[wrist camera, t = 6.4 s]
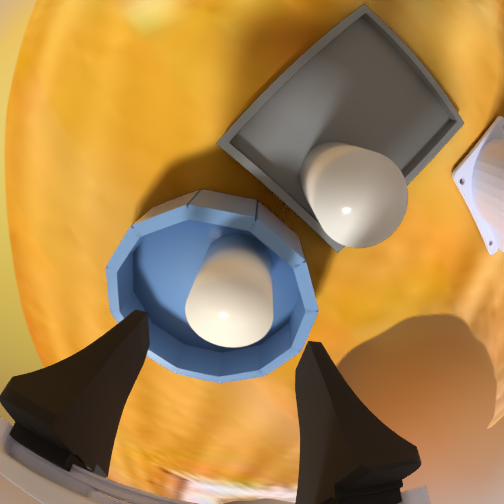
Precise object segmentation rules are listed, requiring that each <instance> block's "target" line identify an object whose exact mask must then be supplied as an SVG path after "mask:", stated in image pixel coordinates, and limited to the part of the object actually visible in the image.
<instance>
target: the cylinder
mask: <svg viewBox="0 0 504 504" xmlns="http://www.w3.org/2000/svg"><path fill="white" fill-rule="evenodd" d="M299 181H300V186H301V189H302V191H303V193H304V195H305V197H306V199H307V201H308V203H309V204H310V206H311V208H312V210H313V212H314V214H315V215H316V217H317V219H318V221H319V223H320V225H321V227H322V228H323V230H324V231H325V232H326V233H327V235H328V236H329V237H331V238H332V239H333V240H334V241H336V242H338V243H340V244H342V245H344V246H347V247H352V248H366V247H371V246H374V245H376V244H379V243H381V242H383V241H384V240H386V239H387V238H388V237H390V236H391V235H392V234H393V233H394V232H395V231H396V229H397V228H398V227H399V225H400V224H401V222H402V220H403V218H404V215H405V213H406V209H407V204H408V189H407V184H406V181H405V178H404V176H403V174H402V172H401V171H400V169H399V168H398V167H397V165H396V164H395V163H394V162H393V161H392V160H390V159H389V158H387V157H386V156H384V155H382V154H380V153H377V152H374V151H371V150H367V149H364V148H360V147H357V146H353V145H350V144H346V143H342V142H335V141H333V142H325V143H322V144H320V145H318V146H316V147H314V148H313V149H312V150H311V151H310V152H309V153H308V154H307V155H306V156H305V158H304V160H303V162H302V164H301V167H300V172H299Z"/></svg>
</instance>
